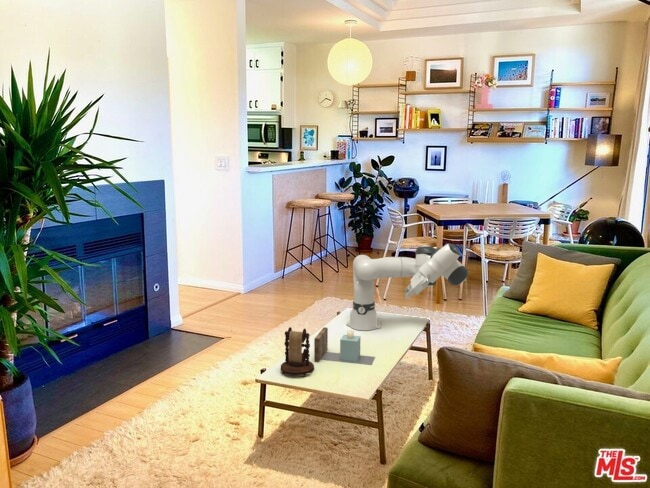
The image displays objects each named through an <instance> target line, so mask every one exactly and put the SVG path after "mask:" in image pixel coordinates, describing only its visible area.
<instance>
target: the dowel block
mask: <svg viewBox="0 0 650 488" xmlns="http://www.w3.org/2000/svg"><path fill="white" fill-rule="evenodd" d="M346 333H347V334H343V335H342V336H341V338H340V341H339V342H340V346H339V349H340V350H339V353H340V361H350V362H358V360H359V358H360V355H361V335H355V333H354V331H353V330H347V332H346Z"/></svg>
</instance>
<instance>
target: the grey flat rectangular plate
mask: <svg viewBox="0 0 650 488" xmlns="http://www.w3.org/2000/svg"><path fill="white" fill-rule="evenodd" d="M375 360H376V356H372V355H371V356H369V355H362V354H360V358H359V360H358V362H350V361H340V352H332V351H326V353H325V354H324V355H323V357H322V358H321V360H320V361H326V362H327V361H328V362H329V361H330V362H337V363H338V362H340V363H346V364H347V363H348V364H356V365H357V364H359V365H365V366H366V365H367V366H373V363H374V361H375Z"/></svg>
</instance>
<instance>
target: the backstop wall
mask: <svg viewBox="0 0 650 488" xmlns="http://www.w3.org/2000/svg"><path fill="white" fill-rule="evenodd" d="M328 329H329V328H328V327H323V328H321V330H320V331H319V332H318V334H317V335H316V336H315V338H314V342H313V344H314V345H313V346H314V347H313V348H314V352H313V353H314V359H313V360H314V363H319V362H320V361H322V360H321V358H322V357H323V355H324V354H325V353H326V352H328V346H329V345H328V340H329V339H328V337H329V336H328V333H329V331H328Z"/></svg>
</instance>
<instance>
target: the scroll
mask: <svg viewBox="0 0 650 488" xmlns="http://www.w3.org/2000/svg"><path fill="white" fill-rule="evenodd" d="M310 336H311V335H310V333H308V332H307V329H306V328H303V329H302V331H296V330H292V327H288V330H285V331H284V337H285V338H284V346H285V348H284V349H285V351H284V354H285V355H284V356H285V358H284V359H285V360H284V362H282V363H281V364H280V371H281V373H282V374H284V375H285V374H286V375H289V376H290V375H291V376H303V377H304V378H305V377H306V376H307V375H308V374H310V373H312V372H313V371H314V370H315V365H314V363H313V362H312V361H310V347H311V344H310V340H309V339H310ZM303 348H304V349H303Z"/></svg>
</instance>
